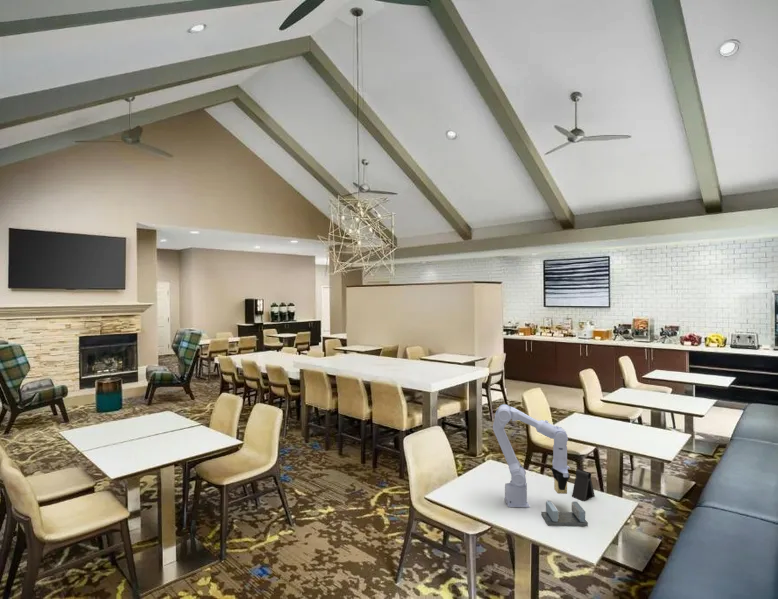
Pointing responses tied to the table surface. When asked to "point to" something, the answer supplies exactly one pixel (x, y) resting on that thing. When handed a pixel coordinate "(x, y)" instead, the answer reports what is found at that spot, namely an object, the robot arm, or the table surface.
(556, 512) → the sliding jaw
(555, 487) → the brass block
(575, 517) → the vise
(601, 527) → the table surface
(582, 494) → the phone stand
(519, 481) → the robot arm
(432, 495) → the table surface
